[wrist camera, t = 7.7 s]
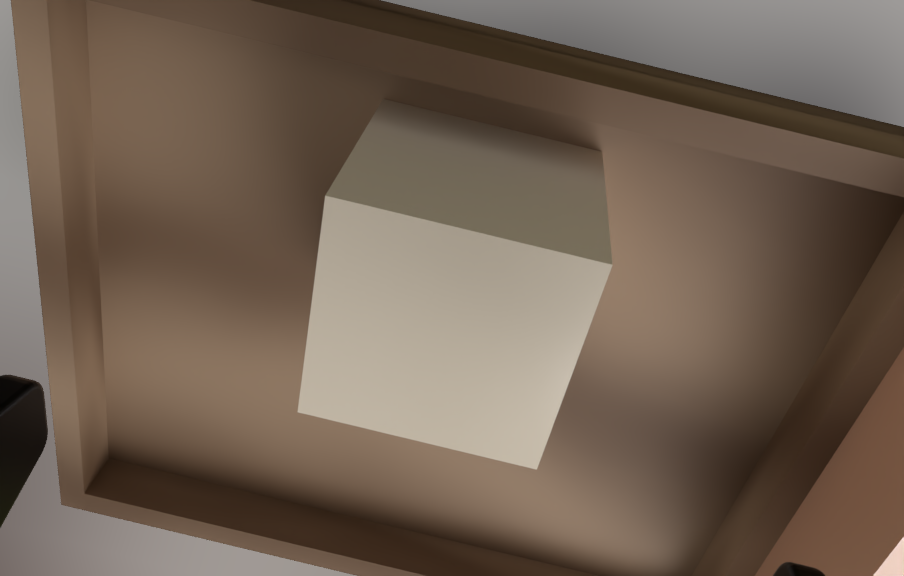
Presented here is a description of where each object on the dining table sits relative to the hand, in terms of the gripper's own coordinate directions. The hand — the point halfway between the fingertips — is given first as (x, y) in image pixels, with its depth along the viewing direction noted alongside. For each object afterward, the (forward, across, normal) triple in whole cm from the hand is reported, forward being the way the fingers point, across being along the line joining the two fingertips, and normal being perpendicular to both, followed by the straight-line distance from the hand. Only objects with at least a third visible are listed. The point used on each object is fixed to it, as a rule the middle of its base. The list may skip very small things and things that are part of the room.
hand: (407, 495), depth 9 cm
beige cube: (+7, 0, 0) cm, 7 cm away
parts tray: (+8, 0, +3) cm, 8 cm away
